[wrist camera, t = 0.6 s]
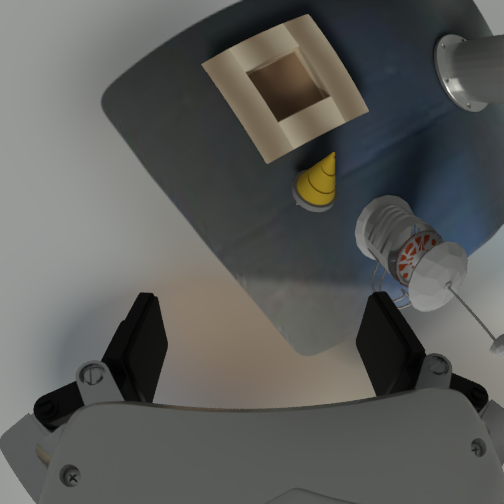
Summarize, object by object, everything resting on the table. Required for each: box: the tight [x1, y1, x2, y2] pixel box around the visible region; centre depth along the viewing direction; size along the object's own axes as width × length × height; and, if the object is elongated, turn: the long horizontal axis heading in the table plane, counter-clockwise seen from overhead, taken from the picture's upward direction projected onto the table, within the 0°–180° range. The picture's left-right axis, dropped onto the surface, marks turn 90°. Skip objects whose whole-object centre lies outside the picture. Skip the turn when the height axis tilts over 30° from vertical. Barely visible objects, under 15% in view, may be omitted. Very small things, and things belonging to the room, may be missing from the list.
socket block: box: [201, 14, 369, 164], centre depth 26 cm, size 13×13×4 cm
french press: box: [355, 195, 504, 357], centre depth 24 cm, size 10×12×25 cm
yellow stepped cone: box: [292, 152, 338, 212], centre depth 29 cm, size 5×5×10 cm
